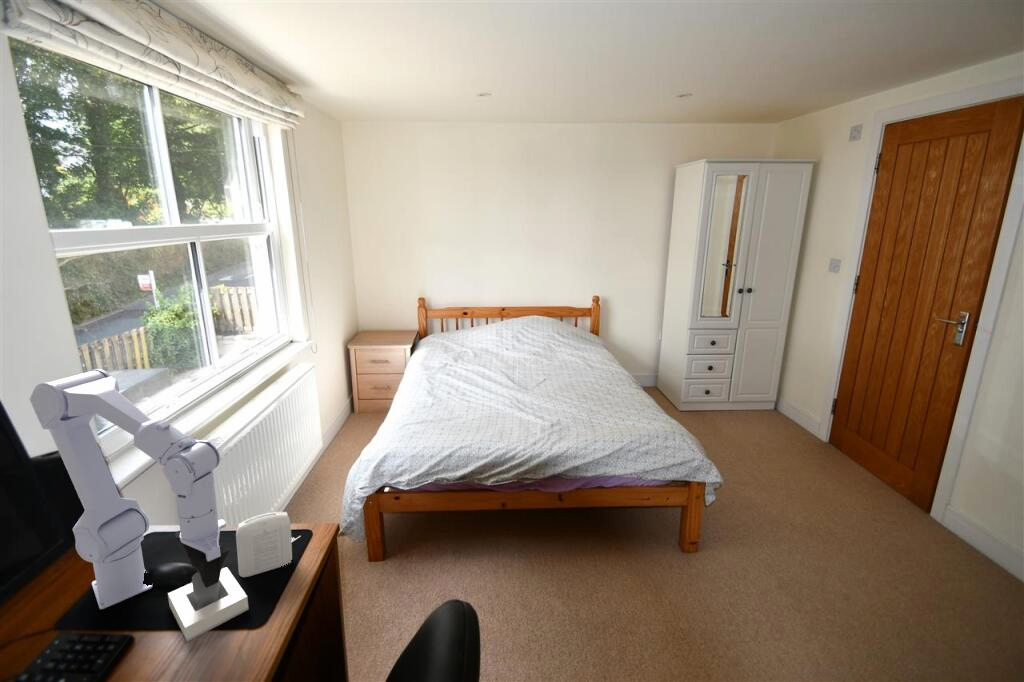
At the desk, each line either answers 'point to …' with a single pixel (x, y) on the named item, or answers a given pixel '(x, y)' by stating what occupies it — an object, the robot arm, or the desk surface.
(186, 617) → the housing
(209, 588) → the grey peg
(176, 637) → the desk surface
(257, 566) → the photo printer
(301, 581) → the desk surface
